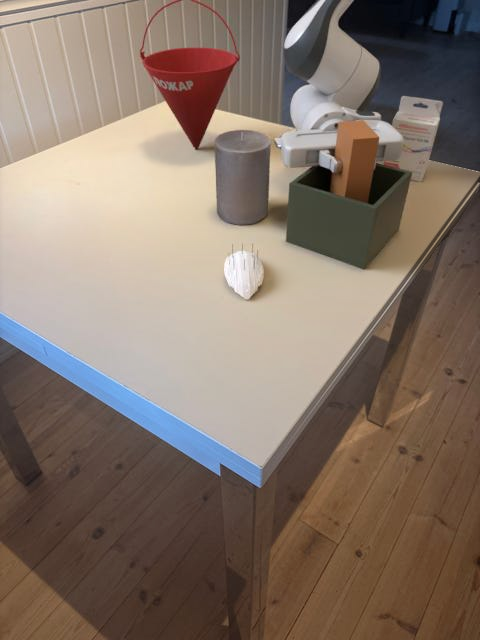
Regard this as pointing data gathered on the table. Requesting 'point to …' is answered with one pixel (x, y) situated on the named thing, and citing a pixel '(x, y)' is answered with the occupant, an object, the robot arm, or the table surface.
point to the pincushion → (244, 272)
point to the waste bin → (346, 214)
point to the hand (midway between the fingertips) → (355, 166)
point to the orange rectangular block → (355, 160)
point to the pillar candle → (242, 176)
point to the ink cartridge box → (416, 134)
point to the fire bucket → (191, 81)
